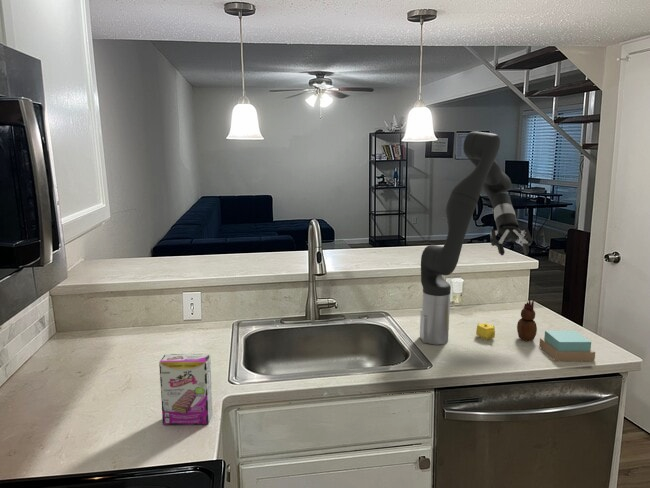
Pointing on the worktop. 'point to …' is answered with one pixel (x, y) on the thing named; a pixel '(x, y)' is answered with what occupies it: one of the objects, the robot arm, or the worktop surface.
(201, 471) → the worktop surface
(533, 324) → the wooden figurine
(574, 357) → the tower base
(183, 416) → the candy bar box
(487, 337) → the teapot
